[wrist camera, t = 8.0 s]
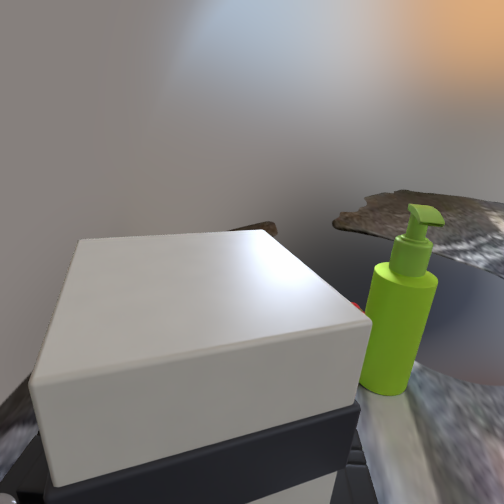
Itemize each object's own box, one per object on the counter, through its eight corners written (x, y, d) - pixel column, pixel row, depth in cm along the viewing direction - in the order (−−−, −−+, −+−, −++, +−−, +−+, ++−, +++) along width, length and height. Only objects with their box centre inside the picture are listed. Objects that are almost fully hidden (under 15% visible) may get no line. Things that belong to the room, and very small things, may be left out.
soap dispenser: (354, 395, 34) (396, 212, 27) (351, 354, 41) (385, 196, 33) (413, 409, 33) (474, 221, 26) (401, 364, 39) (448, 202, 32)
